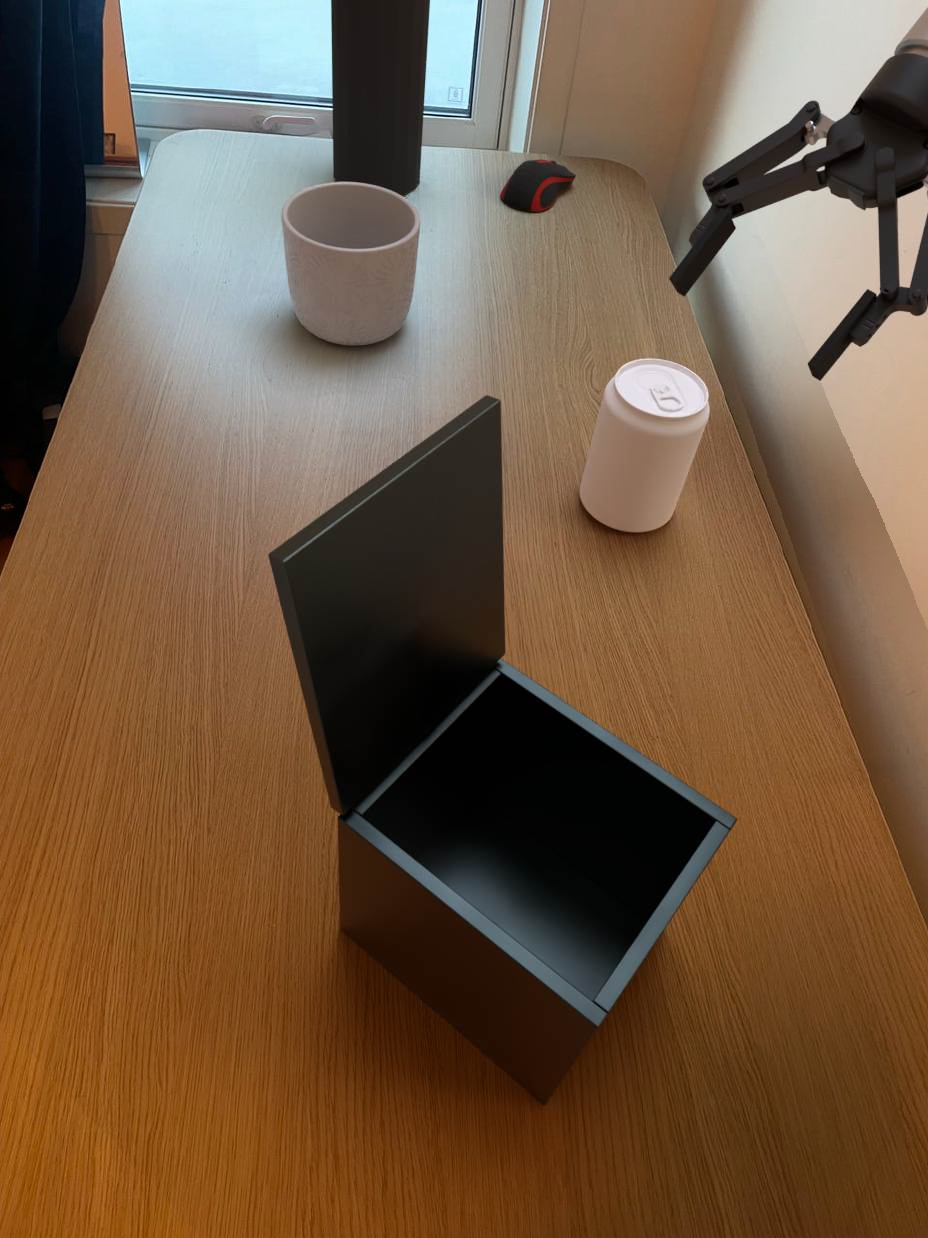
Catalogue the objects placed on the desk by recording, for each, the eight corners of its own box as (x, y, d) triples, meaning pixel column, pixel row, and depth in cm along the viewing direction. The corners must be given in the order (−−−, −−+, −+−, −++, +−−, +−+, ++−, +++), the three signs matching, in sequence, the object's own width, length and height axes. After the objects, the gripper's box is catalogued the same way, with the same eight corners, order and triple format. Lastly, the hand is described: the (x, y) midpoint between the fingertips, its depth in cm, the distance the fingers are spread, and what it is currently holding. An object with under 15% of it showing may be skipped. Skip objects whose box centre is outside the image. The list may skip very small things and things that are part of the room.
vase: (339, 199, 107) (337, -127, 84) (327, 157, 113) (321, -158, 90) (427, 197, 109) (448, -121, 86) (410, 156, 115) (426, -151, 92)
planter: (278, 290, 94) (271, 183, 86) (397, 282, 97) (402, 177, 89) (299, 364, 87) (293, 255, 79) (428, 352, 90) (436, 246, 82)
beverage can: (648, 465, 83) (685, 349, 73) (688, 529, 78) (734, 414, 69) (563, 478, 80) (591, 360, 71) (600, 544, 76) (635, 427, 67)
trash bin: (664, 926, 56) (738, 818, 45) (544, 1106, 49) (598, 1029, 38) (472, 783, 61) (498, 656, 50) (339, 929, 54) (336, 817, 43)
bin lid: (501, 399, 39) (486, 393, 39) (282, 562, 32) (266, 553, 32) (506, 654, 50) (493, 647, 50) (342, 816, 43) (330, 808, 43)
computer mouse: (579, 184, 115) (586, 150, 112) (538, 217, 109) (543, 183, 106) (535, 167, 117) (540, 134, 114) (491, 199, 110) (495, 165, 107)
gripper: (1085, 182, 67) (881, 427, 71) (801, 55, 77) (638, 275, 82) (1100, 121, 60) (874, 395, 65) (786, -8, 71) (611, 234, 75)
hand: (742, 328), depth 73 cm, fingers open, 13 cm apart
